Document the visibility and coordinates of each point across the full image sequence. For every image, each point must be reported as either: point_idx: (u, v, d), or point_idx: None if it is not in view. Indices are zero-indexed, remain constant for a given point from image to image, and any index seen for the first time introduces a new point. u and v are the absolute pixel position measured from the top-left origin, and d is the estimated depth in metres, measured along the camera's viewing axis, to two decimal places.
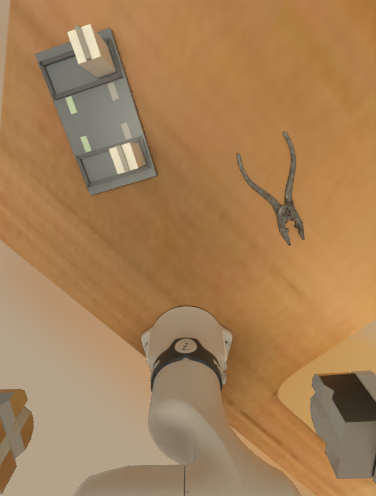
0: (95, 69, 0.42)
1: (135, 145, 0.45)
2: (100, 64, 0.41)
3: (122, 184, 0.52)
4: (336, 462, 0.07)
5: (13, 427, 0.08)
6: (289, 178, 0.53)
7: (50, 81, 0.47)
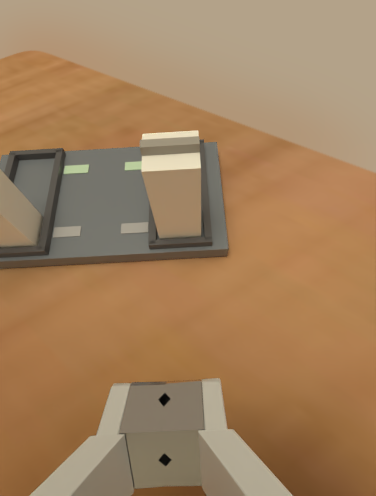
0: None
1: None
2: None
3: None
4: (167, 470, 0.07)
5: None
6: None
7: None
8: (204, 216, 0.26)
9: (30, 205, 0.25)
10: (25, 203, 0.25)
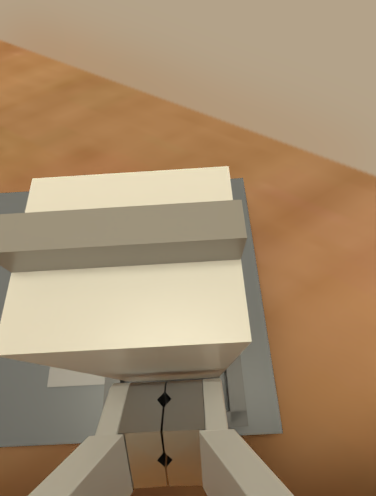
0: None
1: None
2: None
3: None
4: (167, 470, 0.07)
5: None
6: None
7: None
8: None
9: None
10: None
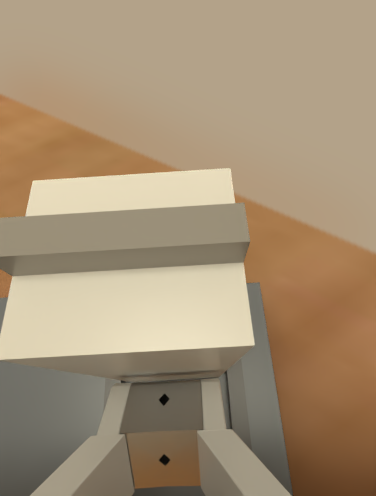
0: None
1: None
2: None
3: None
4: (166, 470, 0.07)
5: None
6: None
7: None
8: None
9: None
10: None
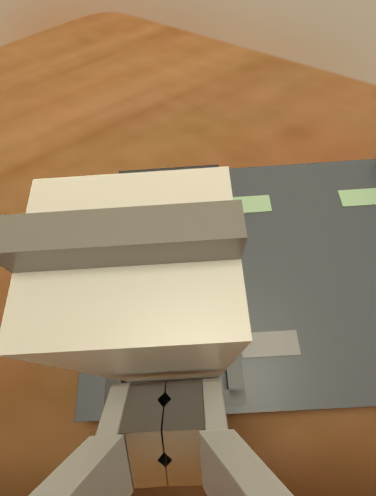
0: None
1: (212, 367, 0.08)
2: None
3: None
4: (167, 470, 0.07)
5: None
6: None
7: None
8: None
9: None
10: None
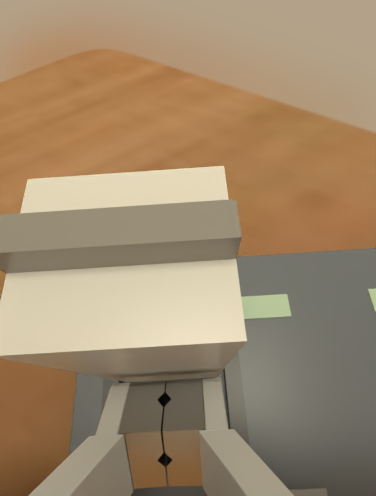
0: None
1: (209, 367, 0.08)
2: None
3: (79, 404, 0.12)
4: (167, 470, 0.07)
5: None
6: None
7: None
8: None
9: None
10: None
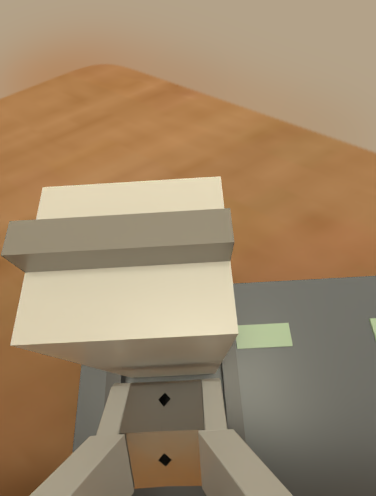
0: None
1: (206, 361, 0.08)
2: None
3: (79, 434, 0.12)
4: (166, 470, 0.07)
5: None
6: None
7: None
8: None
9: None
10: None
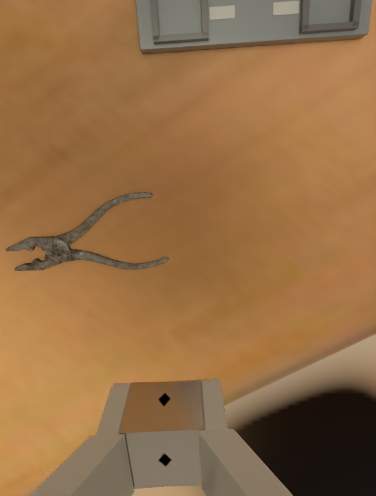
0: None
1: None
2: None
3: None
4: (167, 470, 0.07)
5: None
6: (106, 259, 0.38)
7: None
8: None
9: None
10: None
